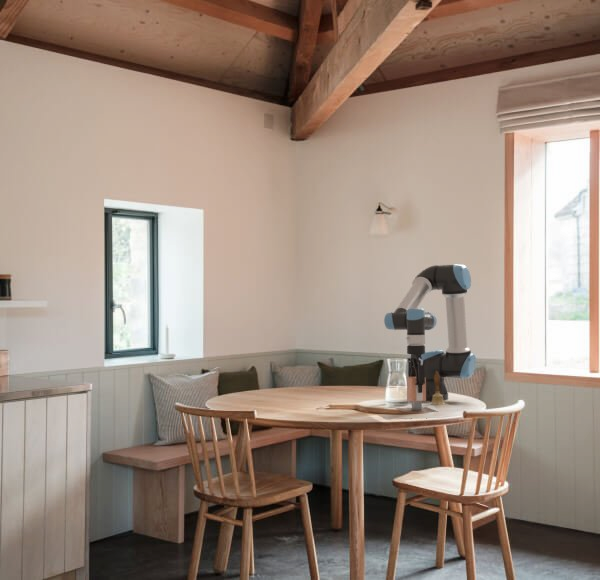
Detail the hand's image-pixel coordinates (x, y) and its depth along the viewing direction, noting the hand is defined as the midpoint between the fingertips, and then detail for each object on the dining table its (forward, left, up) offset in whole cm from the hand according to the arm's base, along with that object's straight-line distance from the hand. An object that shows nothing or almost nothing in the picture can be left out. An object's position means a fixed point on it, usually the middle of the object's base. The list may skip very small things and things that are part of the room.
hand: (416, 399), depth 333 cm
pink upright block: (0, 0, 0) cm, 0 cm away
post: (0, 0, -4) cm, 4 cm away
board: (0, 0, -6) cm, 6 cm away
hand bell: (-16, -16, -6) cm, 24 cm away
